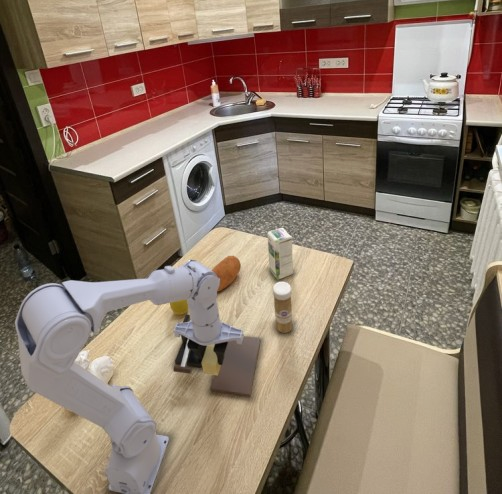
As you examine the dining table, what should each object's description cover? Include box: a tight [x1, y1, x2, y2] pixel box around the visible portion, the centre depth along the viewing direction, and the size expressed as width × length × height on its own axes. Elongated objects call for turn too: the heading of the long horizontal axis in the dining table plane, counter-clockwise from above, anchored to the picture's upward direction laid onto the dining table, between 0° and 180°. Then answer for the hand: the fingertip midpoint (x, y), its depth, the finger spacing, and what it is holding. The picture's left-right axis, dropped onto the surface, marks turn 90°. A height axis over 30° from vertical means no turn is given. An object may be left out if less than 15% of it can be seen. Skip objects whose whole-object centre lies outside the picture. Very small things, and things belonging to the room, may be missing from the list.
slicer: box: [174, 314, 203, 369], centre depth 85 cm, size 10×8×9 cm
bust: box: [74, 349, 115, 385], centre depth 78 cm, size 12×8×11 cm
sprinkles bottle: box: [272, 281, 293, 334], centre depth 88 cm, size 5×5×14 cm
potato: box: [211, 255, 242, 292], centre depth 106 cm, size 7×13×7 cm, turn 137°
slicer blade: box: [172, 320, 193, 375], centre depth 81 cm, size 11×4×2 cm, turn 168°
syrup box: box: [266, 227, 294, 281], centre depth 106 cm, size 6×6×14 cm
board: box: [209, 335, 261, 398], centre depth 82 cm, size 14×9×1 cm, turn 169°
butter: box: [201, 344, 221, 376], centre depth 75 cm, size 5×3×4 cm, turn 169°
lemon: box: [169, 299, 189, 316], centre depth 96 cm, size 6×6×8 cm
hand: (213, 359), depth 75 cm, fingers closed on butter, 3 cm apart
